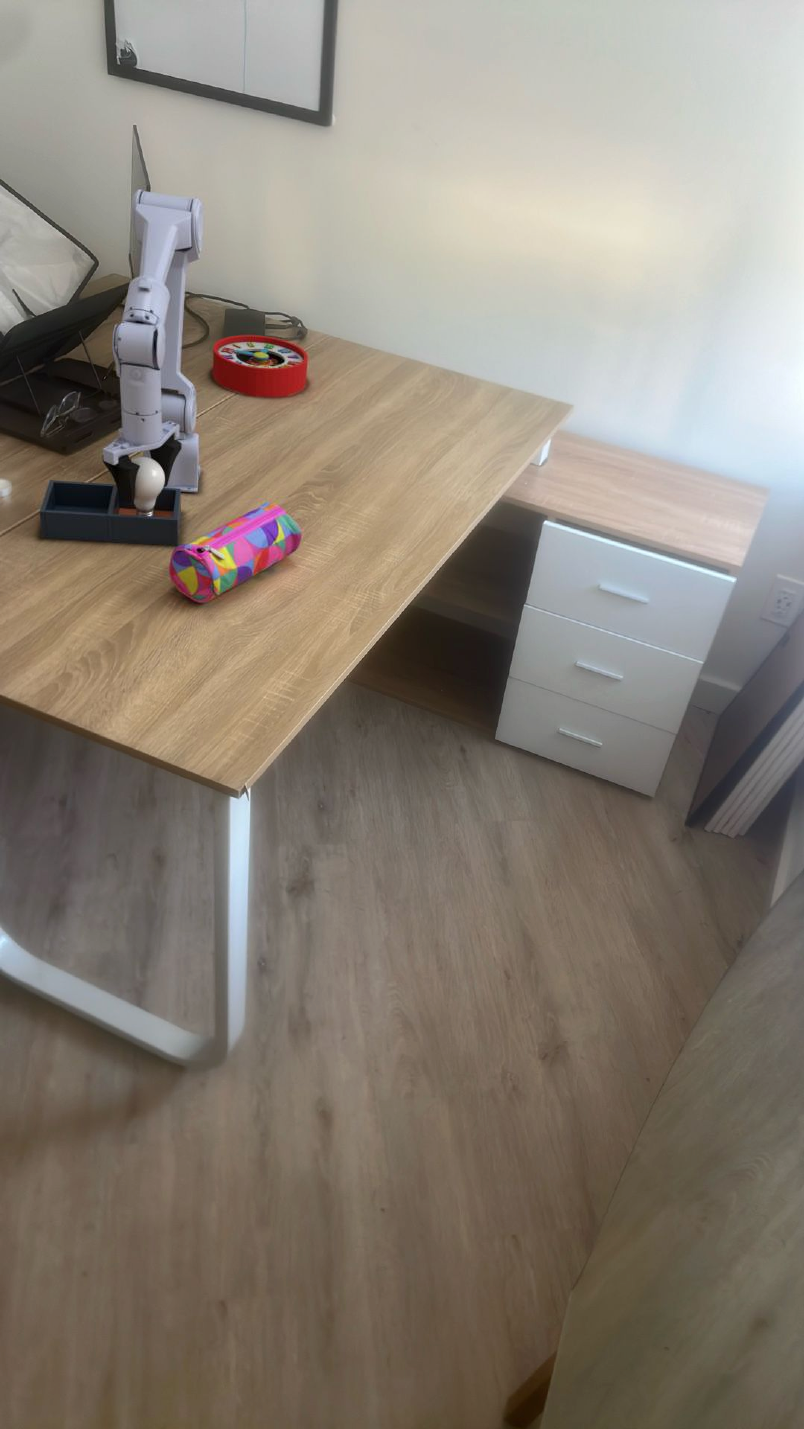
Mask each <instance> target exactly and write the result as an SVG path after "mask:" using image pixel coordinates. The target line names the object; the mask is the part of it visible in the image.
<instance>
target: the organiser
mask: <svg viewBox="0 0 804 1429" xmlns="http://www.w3.org/2000/svg"><path fill="white" fill-rule="evenodd" d="M181 497H182V493H181V489H178V488H163V489H162V491H161V492H160V494H159V495H158V496H157V498H156V502H155V505H154V511H153V512H154V513H153V514H154V517H153V516H137V515H136V506H135V504H134V502H133V503H131V504H130V503H128V502H125V501H123V500H121V498H120V495H119V492H118V489H117V486H116V483H115V484H114V483H102V482H88V481H87V482H86V481H85V482H84V481H70V480H57V479H55V480H54V479H49V482H48V484H47V488H46V491H45V493H44V497H43V499H42V502H41V503H42V504H41V506H40V509H39V518H40V520H39V521H40V529H41V537H42V539H50V540H51V539H53V540H70V541H87V542H88V541H89V542H107V543H124V544H125V543H126V544H142V545H143V544H144V545H161V546H177V547H178V546H179V537H180V528H181V527H180V526H181V518H182V517H181V516H182V500H181V499H182V498H181Z"/></svg>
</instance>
